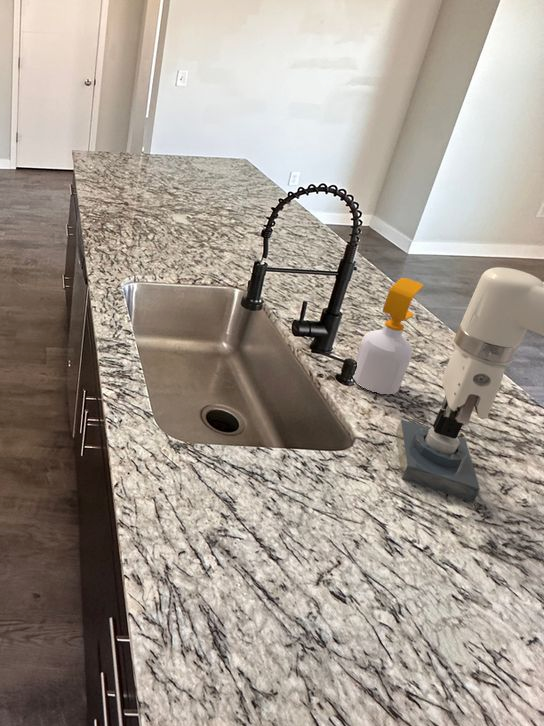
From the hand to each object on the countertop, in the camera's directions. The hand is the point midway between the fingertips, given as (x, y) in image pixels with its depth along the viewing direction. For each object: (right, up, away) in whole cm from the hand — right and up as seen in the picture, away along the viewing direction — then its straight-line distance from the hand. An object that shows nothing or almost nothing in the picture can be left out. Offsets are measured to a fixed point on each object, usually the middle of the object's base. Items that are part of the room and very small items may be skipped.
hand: (444, 432), depth 92 cm
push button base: (0, -7, +3) cm, 7 cm away
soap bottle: (+3, +2, +24) cm, 25 cm away
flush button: (0, -3, +1) cm, 3 cm away
